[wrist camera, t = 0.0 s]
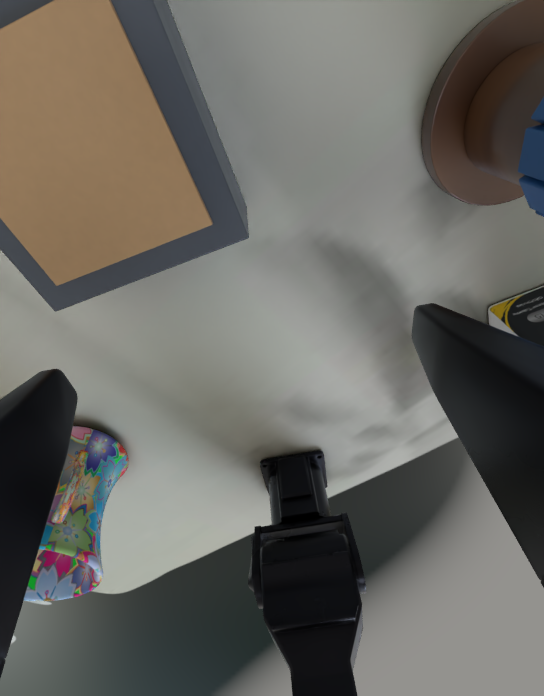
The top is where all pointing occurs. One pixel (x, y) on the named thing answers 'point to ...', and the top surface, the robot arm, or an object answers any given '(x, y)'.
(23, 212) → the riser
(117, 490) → the top surface
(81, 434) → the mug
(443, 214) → the top surface
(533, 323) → the medicine bottle
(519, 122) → the stand
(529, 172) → the ring
